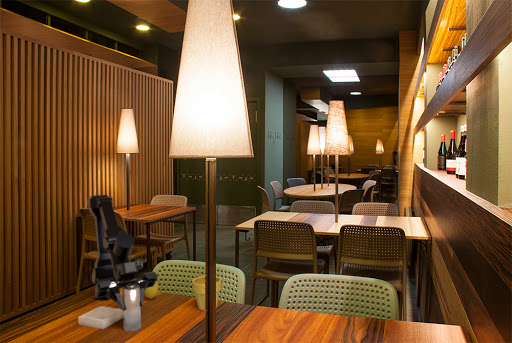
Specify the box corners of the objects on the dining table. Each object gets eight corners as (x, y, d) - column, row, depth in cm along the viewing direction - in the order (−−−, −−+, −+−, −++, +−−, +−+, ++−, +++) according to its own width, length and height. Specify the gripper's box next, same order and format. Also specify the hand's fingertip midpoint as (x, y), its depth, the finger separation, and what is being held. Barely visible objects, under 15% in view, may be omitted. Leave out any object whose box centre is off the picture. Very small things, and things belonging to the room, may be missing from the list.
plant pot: (186, 310, 140) (185, 282, 140) (203, 300, 150) (203, 274, 149) (211, 314, 136) (211, 286, 135) (227, 304, 145) (227, 277, 144)
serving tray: (101, 313, 139) (101, 305, 139) (124, 316, 135) (124, 309, 135) (78, 324, 130) (78, 316, 129) (103, 329, 126) (102, 321, 126)
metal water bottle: (131, 323, 130) (129, 281, 129) (144, 325, 128) (143, 283, 127) (120, 329, 125) (118, 286, 125) (133, 332, 123) (132, 288, 123)
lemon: (140, 300, 150) (139, 279, 150) (150, 295, 155) (149, 275, 155) (151, 302, 148) (150, 281, 148) (161, 298, 153) (161, 277, 152)
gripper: (95, 255, 124) (105, 301, 115) (154, 247, 134) (168, 288, 125) (90, 275, 131) (100, 320, 122) (147, 265, 141) (159, 306, 132)
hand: (133, 308), depth 125 cm, fingers closed on metal water bottle, 5 cm apart
